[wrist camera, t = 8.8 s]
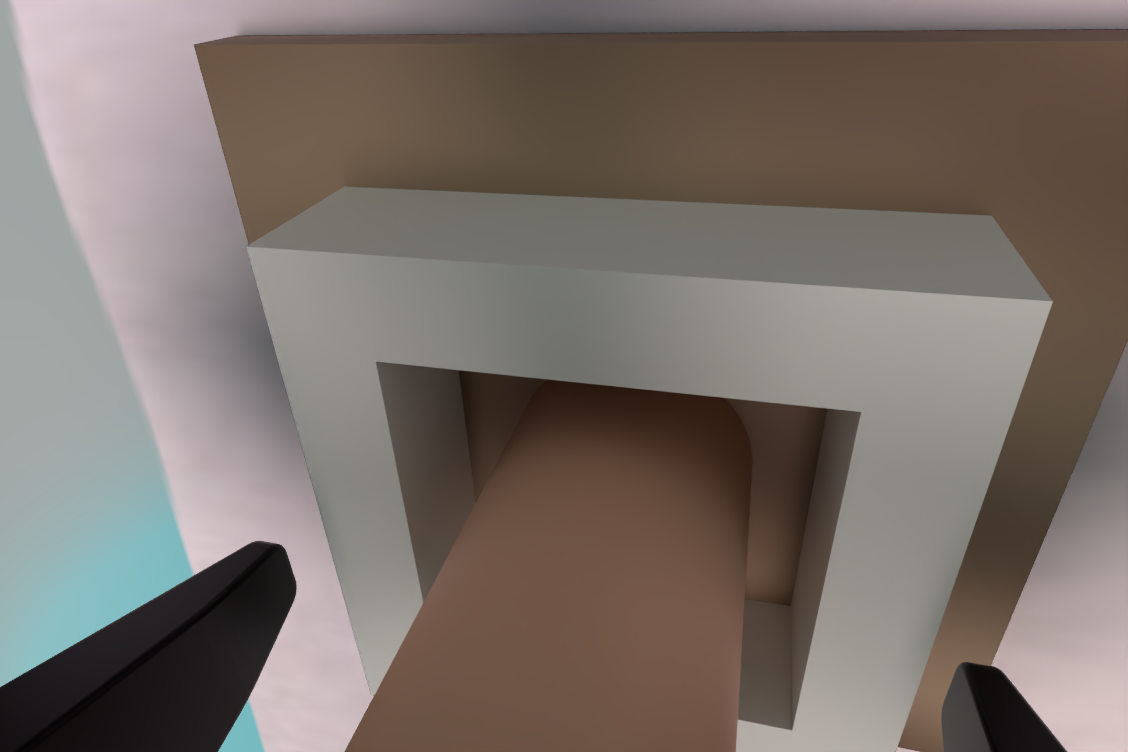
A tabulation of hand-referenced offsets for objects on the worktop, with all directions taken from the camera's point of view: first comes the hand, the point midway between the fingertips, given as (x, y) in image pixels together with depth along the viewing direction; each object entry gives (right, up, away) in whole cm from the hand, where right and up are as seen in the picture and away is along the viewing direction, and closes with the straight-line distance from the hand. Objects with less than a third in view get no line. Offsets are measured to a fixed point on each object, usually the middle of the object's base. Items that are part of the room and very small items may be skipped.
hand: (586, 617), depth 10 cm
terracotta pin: (+1, +2, +3) cm, 4 cm away
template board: (+1, +2, +4) cm, 4 cm away
